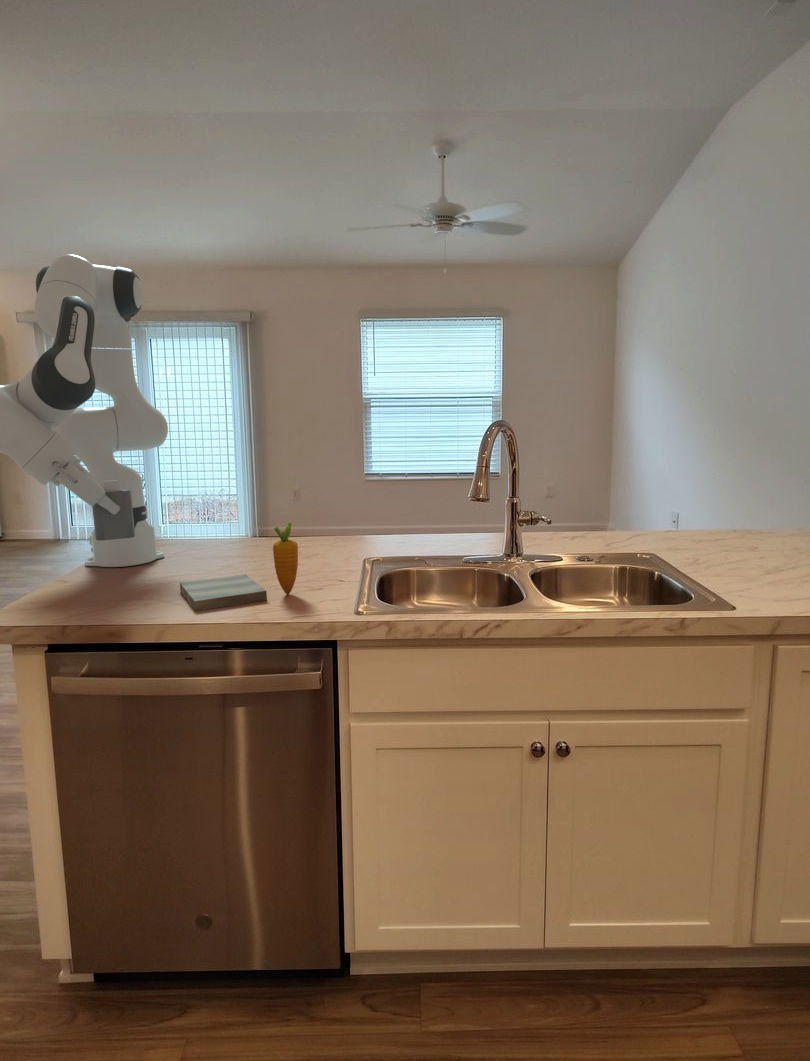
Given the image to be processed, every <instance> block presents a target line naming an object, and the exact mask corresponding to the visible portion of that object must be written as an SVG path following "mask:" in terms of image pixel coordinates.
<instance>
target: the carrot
mask: <svg viewBox="0 0 810 1061" xmlns="http://www.w3.org/2000/svg"><path fill="white" fill-rule="evenodd" d="M292 525H293V523H292V522H289V521H288V523H287V525H286V527H285V529H284V530H282V531H281V530H280V528H279V526H274V527H273V529H274V531H275V532H276V534H277V535H278V537H279V539H280V540H278V541H275V543H274V544H273V547H272V551H273V563H274V569H275V574H276V576H277V580H278V582H279V585H280V587H281V590H283V592H284V594H285V595H288V594H289V595H290V593H292V590H293V588H294V586H295V582H296V580H297V573H298V567H299V566H298V565H299V562H298V561H299V554H298V553H299V551H298V549H299V547H298V543H297V542H296V541H295V540H292V539H289V537H290V535H291V532H292V531H291V530H292ZM289 595H288V596H289Z"/></svg>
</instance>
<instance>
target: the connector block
mask: <svg viewBox="0 0 810 1061" xmlns="http://www.w3.org/2000/svg"><path fill="white" fill-rule="evenodd" d="M103 487H104V490H105V495H106V496H107V497H108V498H110V499H111V500H112V501H113V502H114V503H116V504H117V505H118V506H119V507H120V510H119V511H118V512H117V513H116V514H112V513H111V512H109V511H108V510H107V509H105V508H103V507H102V506H100V505H98V504H97V503H96V504H95V505H94V506H91V508H92V516H93V525H94V526H93V527H94V529H95V538H96V540H98V541H102V540H113V539H124V538H132V537H135V530H134V519H133V508H132V496H131V490H118V483H117V480H111V481H103ZM94 529H93V530H94Z"/></svg>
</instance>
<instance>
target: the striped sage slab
mask: <svg viewBox="0 0 810 1061" xmlns="http://www.w3.org/2000/svg"><path fill="white" fill-rule="evenodd" d="M179 588H180V590H179V591H181V592H182V593H181V592H180V593H181V595H182V596H183V595H184V596H185V597H184V596H183V597H184V598H185V599H187V600H188V601H187V600H186V601H187V602H188V604H189V603H190V604H191V605H190V604H189V605H190V606H191V607H193V608H194V609H193V608H192V609H193V611H194V612H198V611H197V610H200V611H205V610H204V609H207V610H212V609H211V608H214V609H218V607H220V608H225V607H224V606H227V607H231V606H230V605H233V606H238V605H237V604H240V605H244V604H243V603H247V604H251V603H259V601H260V602H265V600H267V601H268V599H267V598H268V597H267V596H268V595H267V590H266V589H265V588H263V586H261V585H259V583H257V582H256V581H255V580H253V579H252V578H251V577H250V576H249V575H247V574H246V573H245V574H244V573H243V574H238V575H237V574H236V575H229V576H221V577H212V578H207V579H200V580H191V581H183V582H182V581H181V582H179Z"/></svg>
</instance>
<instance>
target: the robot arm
mask: <svg viewBox="0 0 810 1061" xmlns="http://www.w3.org/2000/svg"><path fill="white" fill-rule="evenodd" d="M35 290H36V297H35V302H34V319H35V322H36V323H37V325H38V326H39V328H40V329H41V330H42V331H44V332H45V333H46V334H47V335H49V336H50V337H52V338H53V340H52V345H51V347H50V348H49V349H47V350H46V351H45V352H44V353H42V354H41V355H40V356H39V358H38V359H37V361H36V362H35V364H34V365H33V366H32V368H30V370H29V371H28V372H27V373H26V375H25V376H24V377H23V378H22V379H21V380H20V381H19V380H18V381H15V382H12V383H8V384H7V383H6V384H0V453H1V454H3V455H5V456H7V457H9V458H10V459H12V460H13V461H14V462H15V464H16V465H17V466H18V467H19V468H20V469H21V470H22V471H24V472H25V473H27V474H28V475H29V476H31V477H32V478H33V479H34V480H36V481H37V482H38V483H40V484H41V485H43V486H46V485H47V484H48V483H50V482H51V483H52V484H53V485H54V486H56V487H58V486H60V485H63V486H64V487H65V488H66V489H68V490H69V491H70V492H71V493H73V494H74V495H75V496H76V497H78V498H79V499H81V500H82V501H83V502H84V503H85V504H88V506H91V507H92V506H94V505H95V504H96V503H97V504H98V505H100V506H102V507H103V508H105V509H107V510H108V511H109V512H111V513H112V514H116V513H117V512H118V511H119V510H120V507H119V506H118V505H117V504H116V503H114V502H113V501H112V500H111V499H110V498H108V497H107V496H106V495H105V490H104V487H103V481H111V480H117V483H118V490H131V496H132V508H133V519H134V530H135V537H132V538H124V539H113V540H102V541H98V540H96V538H95V529H92V531H91V532H90V534H91V535H89V539H88V540H89V546H91V547H90V551H91V554H90V555H89V556H88V558H87V559H86V560H85V561H84V562H85V563H84V566H86V567H102V568H118V567H121V568H122V567H129V566H130V567H131V566H137V565H142V564H143V565H144V564H146V563H150V562H152V561H156V560H158V559H162V558H165V553H164V552H162V551H160V550H157V549H158V548H157V540H156V533H155V527H154V526H153V525H152V524H150V523H149V522H148V520H147V519H148V510H147V506H146V504H144V500H145V499H144V490H143V489H144V488H143V478H142V477H141V475H140V473H139V472H138V471H137V470H135V469H133V468H132V467H130V466H128V465H125V464H122V463H118V461H116V460H115V457H114V453H116V452H132V451H134V452H135V451H146V450H150V449H154V448H158V447H161V446H162V445H163V444H164V443H165V441H166V440H167V438H168V432H169V427H168V426H169V425H168V422H167V420H166V419H167V418H165V416H164V415H163V413H162V412H161V411H160V410H159V409H158V408H155V407H154V406H153V405H152V404H151V403H149V402H148V400H147V399H146V398H145V397H144V396H143V394H142V392H141V391H140V388H139V386H138V384H137V381H136V375H135V369H134V362H133V349H132V339H131V332H130V328H129V322H131V319H132V317H135V316H136V315H137V314H138V313H139V312H140V310H141V309H142V306H143V300H144V289H143V286H142V283H141V280H140V277H139V276H138V275H137V274H136V272H135V271H134V270H131V269H130V268H126V267H121V266H116V267H113V266H108V265H100V264H92V263H91V262H90V261H89V260H87V259H85V258H84V257H83V256H82V257H81V256H79V255H77V254H71V253H69V254H63V255H60V256H57V257H56V258H55V259H54V260H53V261H52V263H50V265H48V266H44V267H42V268H41V269H40V271H38V273H37V275H36V279H35ZM96 390H97V391H99V392H101V393H103V394H104V395H105V394H106V395H108V396H110V397H111V398H112V401H113V406H90V407H84V406H83V407H81V406H82V405H83V404H84V403H86V402H87V401H88V400H90V399H91V398H92V397H93V395H94V394H95V391H96ZM82 463H83V465H84V466H85V467H84V466H83V465H82ZM89 562H90V563H89ZM85 564H86V565H85Z"/></svg>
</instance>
